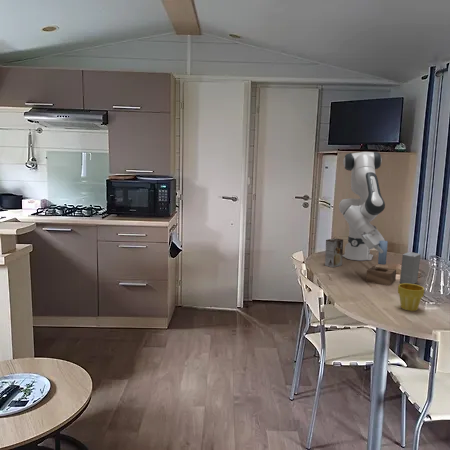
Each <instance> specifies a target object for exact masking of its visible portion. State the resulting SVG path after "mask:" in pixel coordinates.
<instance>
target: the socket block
mask: <svg viewBox="0 0 450 450" xmlns="http://www.w3.org/2000/svg"><path fill="white" fill-rule="evenodd" d="M396 277H397V269H395V268H388V267H381V266H372V267H370V268H368V269H367V270H366V278H365V279H366V280H365V282H366V283H373V284H376V285H377V284H378V285H385V286H388V287H389V286H391V285H392V284H394V283H395V281H396V280H397V278H396Z"/></svg>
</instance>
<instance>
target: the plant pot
mask: <svg viewBox="0 0 450 450" xmlns="http://www.w3.org/2000/svg"><path fill="white" fill-rule="evenodd" d="M397 293H398V296H399V302H400V308H401V309H402V310H405V311H409V312H416V311H418V309H419V305H420V303H421V301H422V298H423V297H424V295H425V287H423V286H422V285H419V284H417V283H415V284H409V283H400V284H398V287H397Z"/></svg>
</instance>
